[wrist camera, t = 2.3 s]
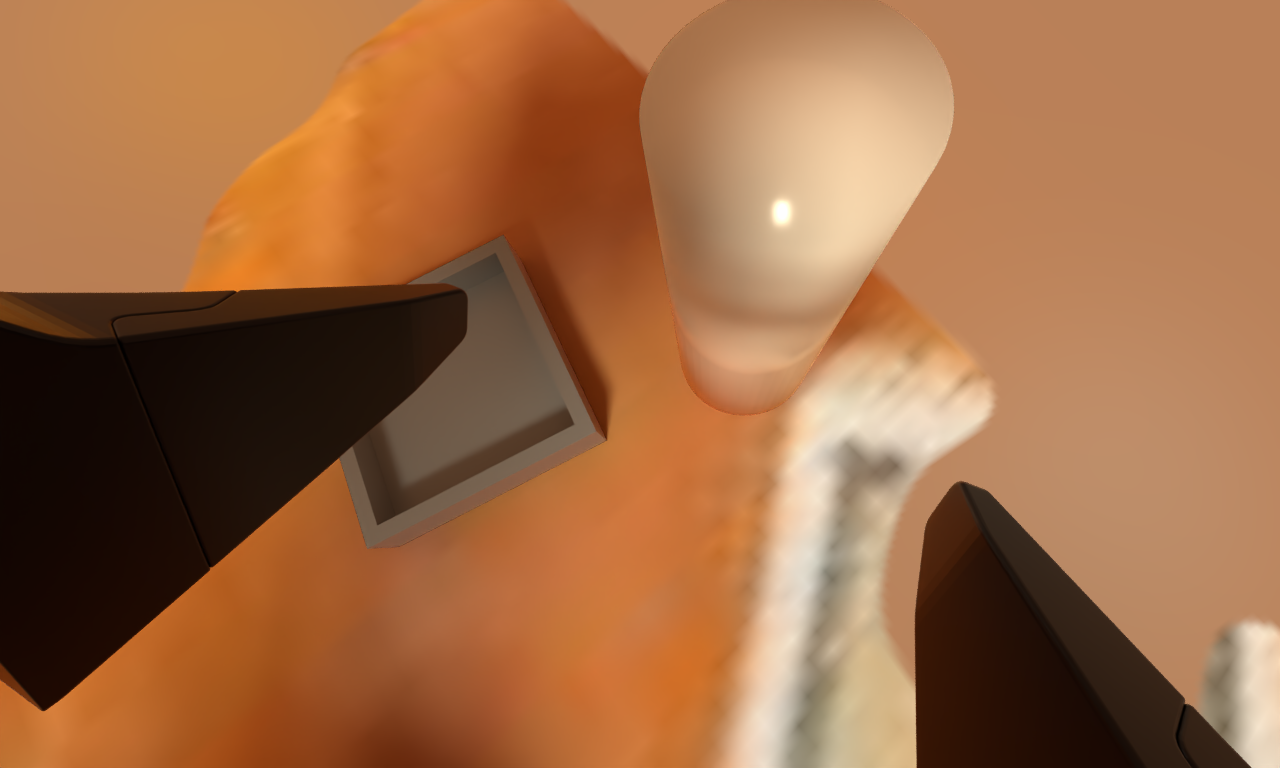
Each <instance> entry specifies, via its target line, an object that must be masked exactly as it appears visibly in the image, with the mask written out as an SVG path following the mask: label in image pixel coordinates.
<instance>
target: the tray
mask: <svg viewBox="0 0 1280 768" xmlns="http://www.w3.org/2000/svg"><path fill="white" fill-rule="evenodd" d="M434 283H447V284H450V285H453V286H455V287H458V288H461V289H463V290H464V291H465V292H466V294H467V297H468V324H467V333H466V336H465V338H464V339H463V341H462V342H461V343H460V344H459V345H458V346H457V348H456V349H455V350H454V351H453V352H452V353H451V354H450V355H449V356H448V357H447V358H446V359H445V360H444V362H443V363H442V364H441V365H440V366H439V367H438V368H437V369H436V370H435V371H434V372H433V373H432V374H431V375H430V377H429V378H428V379H427V380H426V381H425V382H424V383H423V384H422V385H421V386H420V387H419V388H418V389H417V390H416V391H415V392H414V393H413V394H412V395H411V396H410V397H409V398H407V399H406V400H405V401H404V402H403V403H402V404H401V405H399V406H398V407H397V408H396V409H395V410H394V411H393V412H391V413H390V414H389V415H388V416H387V417H386V418H384V419H383V420H382V421H381V422H380V423H379V424H378V425H376V426H375V427H374V428H373V429H372V430H371V431H369V432H368V433H367V434H366V435H365V436H364V437H363V438H361V439H360V440H359V441H358V442H357V443H356V444H354V445H353V446H352V447H351V448H350V449H349V450H348V451H346V452H345V453H344V454H343V455H342V456H341V457H339V458H340V461H341V464H342V468H343V471H344V474H345V478H346V481H347V484H348V487H349V491H350V494H351V497H352V501H353V504H354V507H355V510H356V514H357V517H358V520H359V523H360V527H361V530H362V533H363V537H364V540H365V543H366V546H367V549H372V548H390V547H400V546H402V545H404V544H406V543H407V542H409V541H411V540H413V539H415V538H417V537H419V536H421V535H423V534H425V533H427V532H429V531H431V530H433V529H435V528H437V527H439V526H441V525H443V524H445V523H447V522H448V521H450V520H452V519H454V518H456V517H458V516H460V515H462V514H464V513H466V512H468V511H470V510H472V509H474V508H476V507H478V506H480V505H482V504H484V503H486V502H488V501H489V500H491V499H493V498H495V497H497V496H499V495H501V494H503V493H505V492H507V491H509V490H511V489H513V488H515V487H517V486H519V485H521V484H523V483H525V482H527V481H528V480H530V479H532V478H534V477H536V476H538V475H540V474H542V473H544V472H546V471H548V470H550V469H552V468H554V467H556V466H558V465H560V464H562V463H564V462H566V461H568V460H569V459H571V458H573V457H575V456H577V455H579V454H581V453H583V452H585V451H587V450H589V449H591V448H593V447H595V446H597V445H599V444H601V443H603V442H605V441H607V440H606V438H605V436H604V434H603V432H602V429H601V427H600V425H599V423H598V421H597V419H596V417H595V415H594V413H593V410H592V408H591V406H590V404H589V402H588V400H587V398H586V396H585V394H584V392H583V389H582V387H581V385H580V383H579V381H578V379H577V377H576V375H575V373H574V371H573V368H572V366H571V364H570V362H569V360H568V358H567V356H566V354H565V352H564V350H563V347H562V345H561V343H560V341H559V339H558V337H557V335H556V333H555V331H554V329H553V326H552V324H551V322H550V320H549V318H548V316H547V314H546V312H545V310H544V307H543V305H542V303H541V301H540V299H539V297H538V295H537V293H536V291H535V289H534V286H533V284H532V282H531V280H530V278H529V276H528V274H527V272H526V270H525V268H524V265H523V263H522V261H521V259H520V258H519V256H518V255H517V253H516V252H515V250H514V249H513V248H512V246H511V245H510V243H509V242H508V240H507V239H506V238H505V236H504V235H502V236H500V237H498V238H496V239H494V240H492V241H490V242H488V243H486V244H484V245H482V246H480V247H478V248H476V249H475V250H473V251H471V252H469V253H467V254H465V255H463V256H461V257H459V258H457V259H455V260H453V261H451V262H449V263H447V264H445V265H443V266H441V267H439V268H437V269H435V270H433V271H431V272H429V273H427V274H425V275H423V276H421V277H419V278H417V279H415V280H413V281H412V282H410V283H408V284H434Z"/></svg>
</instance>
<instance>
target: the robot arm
mask: <svg viewBox="0 0 1280 768" xmlns="http://www.w3.org/2000/svg"><path fill="white" fill-rule="evenodd" d="M467 324H468V297H467V294H466V292H465V291H464V290H463V289H461V288H458V287H455V286H453V285H450V284H447V283H434V284H406V285H377V286H349V287H320V288H292V289H264V290H240V291H238V292H236V291H202V292H156V293H155V292H152V293H18V292H0V680H1V681H3V682H4V683H5V684H7V685H8V686H9V687H11V688H12V689H13V690H15V691H16V692H17V693H19V694H20V695H21V696H23V697H24V698H25V699H27V700H28V701H29V702H31V703H32V704H33V705H35V706H36V707H37V708H39V709H40V710H41V711H45V710H47V709H48V708H50V707H51V706H53V705H54V704H55V703H57V702H58V701H59V700H61V699H62V698H63V697H64V696H66V695H67V694H68V693H69V692H70V691H71V690H73V689H74V688H75V687H76V686H77V685H78V684H79V683H81V682H82V681H83V680H84V679H85V678H86V677H88V676H89V675H90V674H91V673H92V672H93V671H94V670H96V669H97V668H98V667H99V666H100V665H101V664H103V663H104V662H105V661H106V660H107V659H108V658H109V657H111V656H112V655H113V654H114V653H115V652H116V651H118V650H119V649H120V648H121V647H122V646H123V645H124V644H126V643H127V642H128V641H129V640H130V639H131V638H132V637H134V636H135V635H136V634H137V633H138V632H139V631H141V630H142V629H143V628H144V627H145V626H146V625H147V624H149V623H150V622H151V621H152V620H153V619H154V618H156V617H157V616H158V615H159V614H160V613H161V612H162V611H164V610H165V609H166V608H167V607H168V606H169V605H171V604H172V603H173V602H174V601H175V600H176V599H177V598H179V597H180V596H181V595H182V594H183V593H184V592H185V591H187V590H188V589H189V588H190V587H191V586H192V585H194V584H195V583H196V582H197V581H198V580H199V579H200V578H202V577H203V576H204V575H205V574H206V573H207V572H209V571H210V567H214V566H215V565H216V564H217V563H218V562H219V561H221V560H222V559H223V558H224V557H225V556H226V555H228V554H229V553H230V552H231V551H232V550H233V549H234V548H236V547H237V546H238V545H239V544H240V543H241V542H243V541H244V540H245V539H246V538H247V537H248V536H249V535H251V534H252V533H253V532H254V531H255V530H256V529H258V528H259V527H260V526H261V525H262V524H263V523H264V522H266V521H267V520H268V519H269V518H270V517H271V516H273V515H274V514H275V513H276V512H277V511H278V510H279V509H281V508H282V507H283V506H284V505H285V504H286V503H288V502H289V501H290V500H291V499H292V498H293V497H294V496H296V495H297V494H298V493H299V492H300V491H301V490H303V489H304V488H305V487H306V486H307V485H308V484H309V483H311V482H312V481H313V480H314V479H315V478H316V477H318V476H319V475H320V474H321V473H322V472H323V471H324V470H326V469H327V468H328V467H329V466H330V465H331V464H333V463H334V462H335V461H336V460H337V459H338V458H339V457H341V456H342V455H343V454H344V453H345V452H346V451H348V450H349V449H350V448H351V447H352V446H353V445H354V444H356V443H357V442H358V441H359V440H360V439H361V438H363V437H364V436H365V435H366V434H367V433H368V432H369V431H371V430H372V429H373V428H374V427H375V426H376V425H378V424H379V423H380V422H381V421H382V420H383V419H384V418H386V417H387V416H388V415H389V414H390V413H391V412H393V411H394V410H395V409H396V408H397V407H398V406H399V405H401V404H402V403H403V402H404V401H405V400H406V399H407V398H409V397H410V396H411V395H412V394H413V393H414V392H415V391H416V390H417V389H418V388H419V387H420V386H421V385H422V384H423V383H424V382H425V381H426V380H427V379H428V378H429V377H430V375H431V374H432V373H433V372H434V371H435V370H436V369H437V368H438V367H439V366H440V365H441V364H442V363H443V362H444V360H445V359H446V358H447V357H448V356H449V355H450V354H451V353H452V352H453V351H454V350H455V349H456V348H457V346H458V345H459V344H460V343H461V342H462V341H463V339H464V338H465V336H466V333H467ZM915 680H916V752H917V768H1251V767H1250V766H1249V765H1248V764H1247V763H1246V762H1245V761H1244V760H1243V759H1242V757H1241V756H1240V755H1239V754H1238V753H1237V752H1236V751H1235V750H1234V749H1233V748H1232V747H1231V746H1230V745H1229V744H1228V743H1227V742H1226V741H1225V740H1224V739H1223V738H1222V737H1221V736H1220V735H1219V734H1218V733H1217V732H1216V731H1215V730H1214V728H1213V727H1212V726H1211V725H1210V724H1209V723H1208V722H1207V721H1206V720H1205V719H1204V718H1203V717H1202V716H1201V715H1200V714H1199V713H1198V712H1197V710H1196V709H1195V708H1194V707H1193V706H1191V705H1189V704H1185V699H1184V697H1183V696H1182V695H1181V694H1180V693H1179V692H1178V691H1177V690H1176V689H1175V688H1174V687H1173V685H1172V684H1171V683H1170V682H1169V681H1168V680H1167V679H1166V678H1165V677H1164V676H1163V675H1162V674H1161V673H1160V672H1159V671H1158V670H1157V669H1156V668H1155V666H1153V664H1152V663H1151V662H1150V661H1149V660H1148V659H1147V658H1146V657H1145V656H1144V655H1143V654H1142V653H1141V652H1140V651H1139V650H1138V649H1137V648H1136V647H1135V645H1133V643H1132V642H1131V641H1130V640H1129V639H1128V638H1127V637H1126V636H1125V635H1124V634H1123V633H1122V632H1121V631H1120V630H1119V629H1118V628H1117V627H1116V625H1115V624H1114V623H1113V622H1112V621H1111V620H1110V619H1109V618H1108V617H1107V616H1106V615H1105V614H1104V613H1103V612H1102V611H1101V610H1100V609H1099V608H1098V606H1097V605H1096V604H1095V603H1094V602H1093V601H1092V600H1091V599H1090V598H1089V597H1088V596H1087V595H1086V594H1085V593H1084V592H1083V591H1082V590H1081V589H1080V588H1079V587H1078V586H1077V584H1076V583H1075V582H1074V581H1073V580H1072V579H1071V578H1070V577H1069V576H1068V575H1067V574H1066V573H1065V572H1064V571H1063V570H1062V569H1061V567H1059V565H1058V564H1057V563H1056V562H1055V561H1054V560H1053V559H1052V558H1051V557H1050V556H1049V555H1048V554H1047V553H1046V552H1045V551H1044V550H1043V549H1042V547H1041V546H1039V544H1038V543H1037V542H1036V541H1035V540H1034V539H1033V538H1032V537H1031V536H1030V535H1029V534H1028V533H1027V532H1026V531H1025V530H1024V529H1023V528H1022V526H1021V525H1020V524H1019V523H1018V522H1017V521H1016V520H1015V519H1014V518H1013V517H1012V516H1011V515H1010V514H1009V513H1008V512H1007V511H1006V510H1005V509H1004V507H1003V506H1002V505H1001V504H1000V503H999V502H998V501H997V500H996V499H995V498H994V497H993V496H992V495H991V494H990V493H989V492H988V491H986V490H985V489H982V488H979V487H977V486H974V485H972V484H969V483H966V482H963V481H959V482H956V483H955V484H954V485H953V486H952V487H951V488H950V489H949V491H948V492H947V494H946V495H945V496H944V497H943V499H942V500H941V502H940V503H939V504H938V506H937V507H936V509H935V510H934V512H933V513H932V514H931V516H930V517H929V519H928V521H927V524H926V527H925V532H924V540H923V549H922V557H921V565H920V573H919V582H918V589H917V598H916V609H915Z"/></svg>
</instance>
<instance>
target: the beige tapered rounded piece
mask: <svg viewBox="0 0 1280 768" xmlns="http://www.w3.org/2000/svg"><path fill="white" fill-rule="evenodd" d="M953 116H954V95H953V90H952V85H951V79H950V76H949V74H948V71H947V68H946V66H945V63H944V61H943V59H942V57H941V56H940V54H939V52H938V50H937V49H936V47H935V46H934V45H933V43H932V42H931V41H930V40H929V38H928V37H927V36H926V34H925V33H924V32H923V31H922V30H920V28H919V27H917V26H916V25H915V24H914V23H913V22H912V21H911V20H909V19H908V18H907V17H905V16H904V15H903V14H901V13H900V12H899V11H897V10H895V9H893V8H891V7H890V6H888V5H886V4H884V3H882V2H880V1H878V0H727V1H725V2H723V3H721V4H718V5H716V6H715V7H713V8H711V9H709V10H708V11H706V12H704V13H702V14H701V15H699V16H698V17H697V18H695V19H694V20H693V21H691V22H690V23H689V24H687V25H686V26H685V27H684V28H683V29H682V30H680V31H679V32H678V33H677V34H676V35H675V36H674V37H673V38H672V39H671V40H670V42H669V43H668V44H667V45H666V46H665V47H664V49H663V50H662V52H661V53H660V55H659V56H658V58H657V59H656V61H655V62H654V64H653V66H652V68H651V70H650V72H649V74H648V76H647V79H646V82H645V85H644V88H643V91H642V96H641V102H640V108H639V126H640V132H641V139H642V145H643V150H644V156H645V162H646V167H647V173H648V179H649V184H650V190H651V196H652V201H653V207H654V213H655V218H656V224H657V230H658V235H659V241H660V247H661V252H662V258H663V264H664V269H665V275H666V281H667V286H668V292H669V298H670V304H671V309H672V315H673V321H674V326H675V332H676V338H677V343H678V349H679V355H680V360H681V366H682V370H683V373H684V376H685V379H686V381H687V383H688V384H689V386H690V388H691V389H692V390H693V392H694V393H695V394H696V395H697V396H698V397H699V398H700V399H701V400H702V401H704V402H705V403H706V404H708V405H709V406H711V407H713V408H715V409H717V410H719V411H722V412H725V413H729V414H733V415H755V414H761V413H764V412H768V411H770V410H772V409H774V408H776V407H778V406H780V405H781V404H783V403H784V402H785V401H787V400H788V399H789V398H790V397H791V396H792V395H793V394H794V393H795V391H796V390H797V389H798V387H799V386H800V384H801V382H802V381H803V379H804V378H805V376H806V374H807V373H808V371H809V370H810V368H811V366H812V365H813V363H814V362H815V360H816V358H817V357H818V355H819V353H820V352H821V350H822V349H823V347H824V345H825V344H826V342H827V341H828V339H829V337H830V336H831V334H832V333H833V331H834V329H835V328H836V326H837V324H838V323H839V321H840V320H841V318H842V316H843V315H844V313H845V312H846V310H847V308H848V307H849V305H850V304H851V302H852V300H853V299H854V297H855V296H856V294H857V292H858V291H859V289H860V287H861V286H862V284H863V283H864V281H865V279H866V278H867V276H868V275H869V273H870V271H871V270H872V268H873V267H874V265H875V263H876V262H877V260H878V258H879V257H880V255H881V254H882V252H883V250H884V249H885V247H886V245H887V244H888V242H889V241H890V239H891V238H892V235H893V234H894V233H895V231H896V229H897V228H898V226H899V225H900V223H901V221H902V220H903V218H904V216H905V215H906V213H907V212H908V210H909V209H910V207H911V205H912V204H913V202H914V200H915V199H916V197H917V196H918V194H919V192H920V190H921V189H922V188H923V186H924V184H925V183H926V181H927V180H928V178H929V176H930V175H931V173H932V172H933V170H934V168H935V167H936V165H937V163H938V161H939V159H940V157H941V156H942V154H943V152H944V150H945V148H946V145H947V142H948V139H949V136H950V132H951V129H952V122H953Z"/></svg>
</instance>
